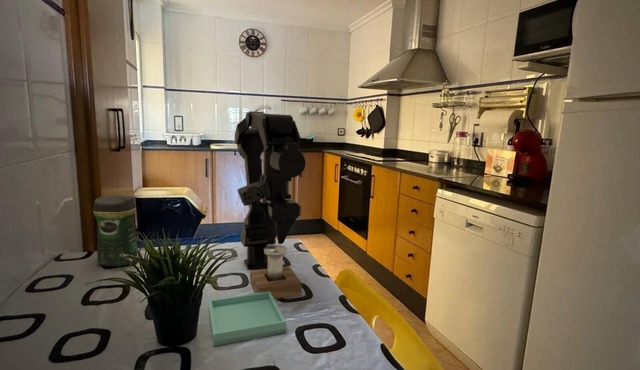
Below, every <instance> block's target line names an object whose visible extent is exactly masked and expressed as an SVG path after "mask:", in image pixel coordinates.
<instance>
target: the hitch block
mask: <svg viewBox="0 0 640 370" xmlns="http://www.w3.org/2000/svg"><path fill="white" fill-rule="evenodd" d="M249 280H250V281H249V283H250V286H251V287H252V290H253V294H255V293H262V292H269V291H270V292H271V294H272V296H273V298H274V300H276V299H283V298H289V297H296V296H301V295H302V281H301V280H300V279H299V277H298V276H297V275H296V273H295V272H294V271H293V269H292V268H291V266H283V272H282V280H276V281H269V282H268V268H265V269H264V268H262V269H256V270H255V269H254V270H250V273H249Z"/></svg>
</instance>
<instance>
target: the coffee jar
mask: <svg viewBox="0 0 640 370" xmlns="http://www.w3.org/2000/svg"><path fill="white" fill-rule="evenodd" d="M136 212H137V207H136V200H135V198H134V197H133V196H131V195H127V196H126V195H103V196H99V197H97V198H95V200H94V203H93V215H94V217H95V220H96V224H97V249H96V250H97V253H96V254H97V255H96V256H97V257H96V258H97V263H98V265H100V266H106V267H108V266H112V267H114V266H116V267H117V266H126V265H129V264H131V263H130V262H129V261H128V260H126V259H125V258H123V257H121V256H120V254H129V255H133V256H137V251H136V248H137V247H138V248H139V246H138V240H137V236H136V229H135V228H136V227H135V214H136Z"/></svg>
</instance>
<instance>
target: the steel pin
mask: <svg viewBox="0 0 640 370" xmlns="http://www.w3.org/2000/svg"><path fill="white" fill-rule="evenodd" d="M264 254H265V255H267V256H268V267H267V269H268V282H269V281H276V280H282V272H283V267H284V266H283V265H284V264H283V262H284V261H283V259H284V258H283V256H284V255H286V254H287V246H285V245H283V244H268V246H266V247H265V248H264Z"/></svg>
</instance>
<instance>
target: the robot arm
mask: <svg viewBox="0 0 640 370" xmlns="http://www.w3.org/2000/svg"><path fill="white" fill-rule="evenodd" d="M251 127H252V128H251ZM234 132H235V133H234V144H235V145H236V146H237V147H236V148H237V152H238V154H239V155H240V156H241V157H242V159H243V160H244V168H245V169H244V170H245V179H246V185H245V186H242V187H240V188H238V189H237V194H238V196H239V199H240V201H241V203H242V204H243V206H245V207H247V206H248V212H247V214H246V215H245V218H244V220H243V222H244V224H243V225H242V229H241V232H240V236H239V237H240V243H241V244H242V246H243V248H246V259H243V260H244V261H243V262H244V264H245V266H246V268H247V270H255V269H256V270H258V269H264V268H265V269H266V268H268V256H267V255H265V254H264V248H265V247H266V246H269V245H275V242H276V239H277V245H283V244H284V242H285V240H286V238H287V237H288V234H289V233H290V231H291V229H292V227H293V226H294V224H295V222H296V220H297V219H299V217H300V216H301V215H302V214H301V213H302V207H301V205H300V204H298V202H297V201H296V200H294V199H292V194H291V193H290V192H289V191H290V182H292V181H293V179H292V178H296V177H299V176H300V175H301V174H302V173H303V172H304V170H305V168H306V163H307V162H306V158H305V156H304V154H303V153H302V151H300V150H298V147H301V140H302V138H301V135H300V132H299V130H298V127H297V123H296V121H295V120H294V117H293V116H292V115H291V114H281V113H280V114H278V113H276V114H275V113H274V114H273V113H266V112H263V111H252V110H251V111H246V114H245V118H243V119H242V120H240V121H239V123H238V124H236V129H235V131H234ZM262 154H263V168H262V158H261V156H262ZM262 169H263V171H262Z"/></svg>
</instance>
